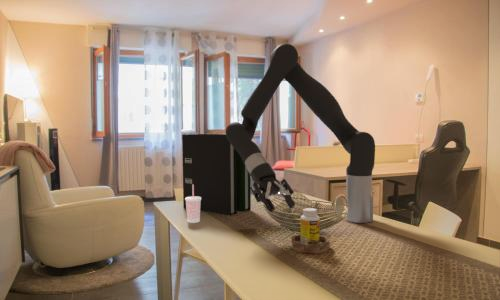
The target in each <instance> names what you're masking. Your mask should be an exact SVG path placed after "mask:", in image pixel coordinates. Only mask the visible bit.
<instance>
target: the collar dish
mask: <svg viewBox="0 0 500 300" xmlns="http://www.w3.org/2000/svg"><path fill="white" fill-rule="evenodd" d="M329 247H330V239H329V238H328V236H325V235H321V234H320V241H319V244H305V243H301V241H300V233H299V234H296V235H294V236H291V249H292V250H293V251H295V252H297V253H300V254H305V255H318V254H325V253H326V252H328V251H330V250H329V249H330V248H329Z"/></svg>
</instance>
